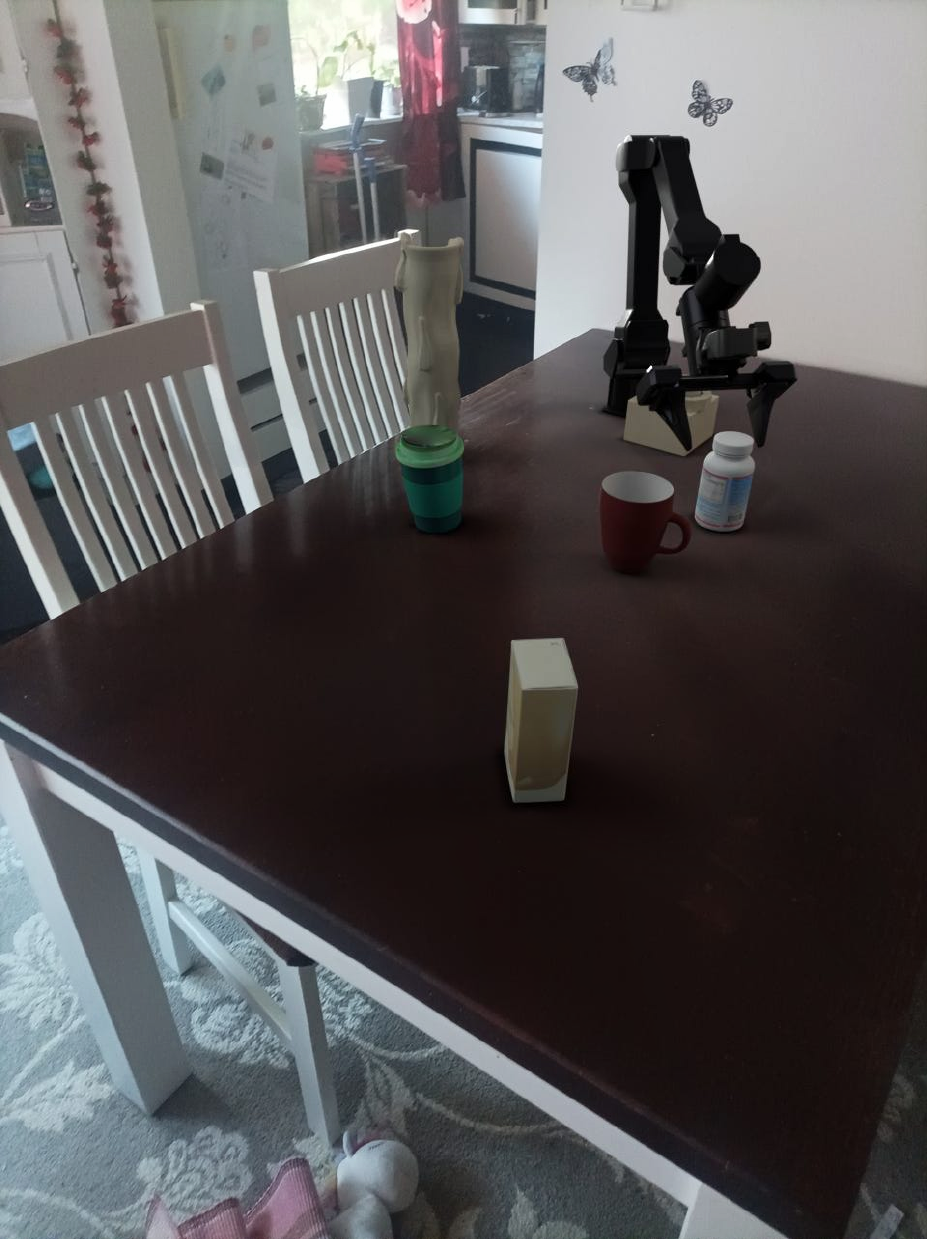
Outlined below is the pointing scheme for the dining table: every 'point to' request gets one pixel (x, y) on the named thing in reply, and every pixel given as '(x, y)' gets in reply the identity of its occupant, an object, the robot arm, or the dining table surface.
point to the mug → (637, 519)
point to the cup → (432, 476)
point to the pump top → (693, 393)
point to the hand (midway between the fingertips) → (725, 448)
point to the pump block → (658, 434)
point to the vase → (431, 330)
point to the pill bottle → (726, 482)
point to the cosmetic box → (539, 719)
